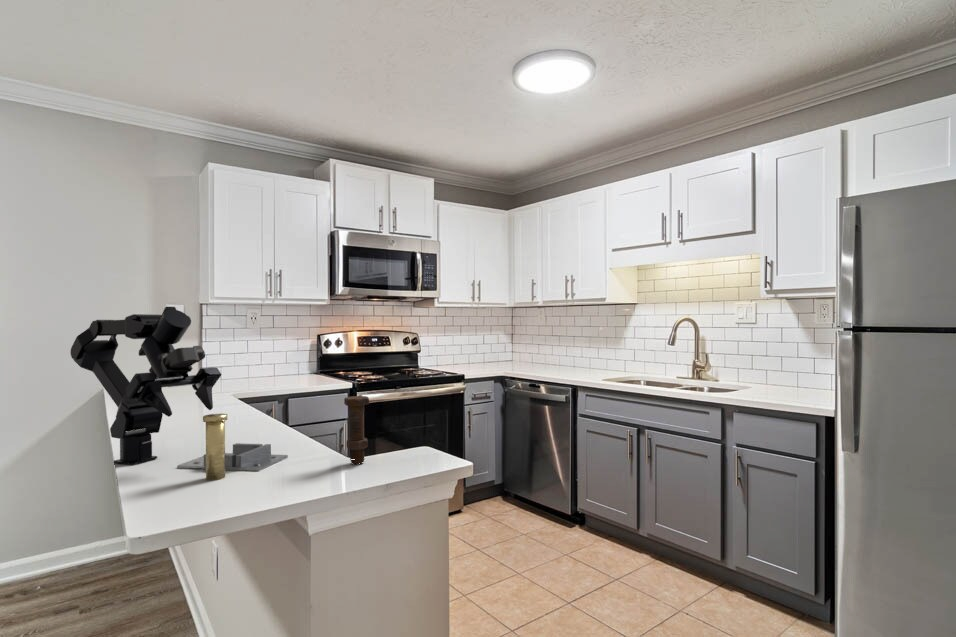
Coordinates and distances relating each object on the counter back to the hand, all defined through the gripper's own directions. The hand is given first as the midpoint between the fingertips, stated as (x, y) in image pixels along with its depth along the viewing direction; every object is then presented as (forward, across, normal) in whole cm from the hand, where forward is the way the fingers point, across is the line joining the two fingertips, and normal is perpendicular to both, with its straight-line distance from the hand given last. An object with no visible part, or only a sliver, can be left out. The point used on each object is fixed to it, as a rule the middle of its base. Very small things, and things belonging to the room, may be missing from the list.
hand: (191, 412), depth 115 cm
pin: (+16, 0, +2) cm, 16 cm away
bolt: (+28, +22, -11) cm, 37 cm away
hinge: (+10, +10, +8) cm, 16 cm away
